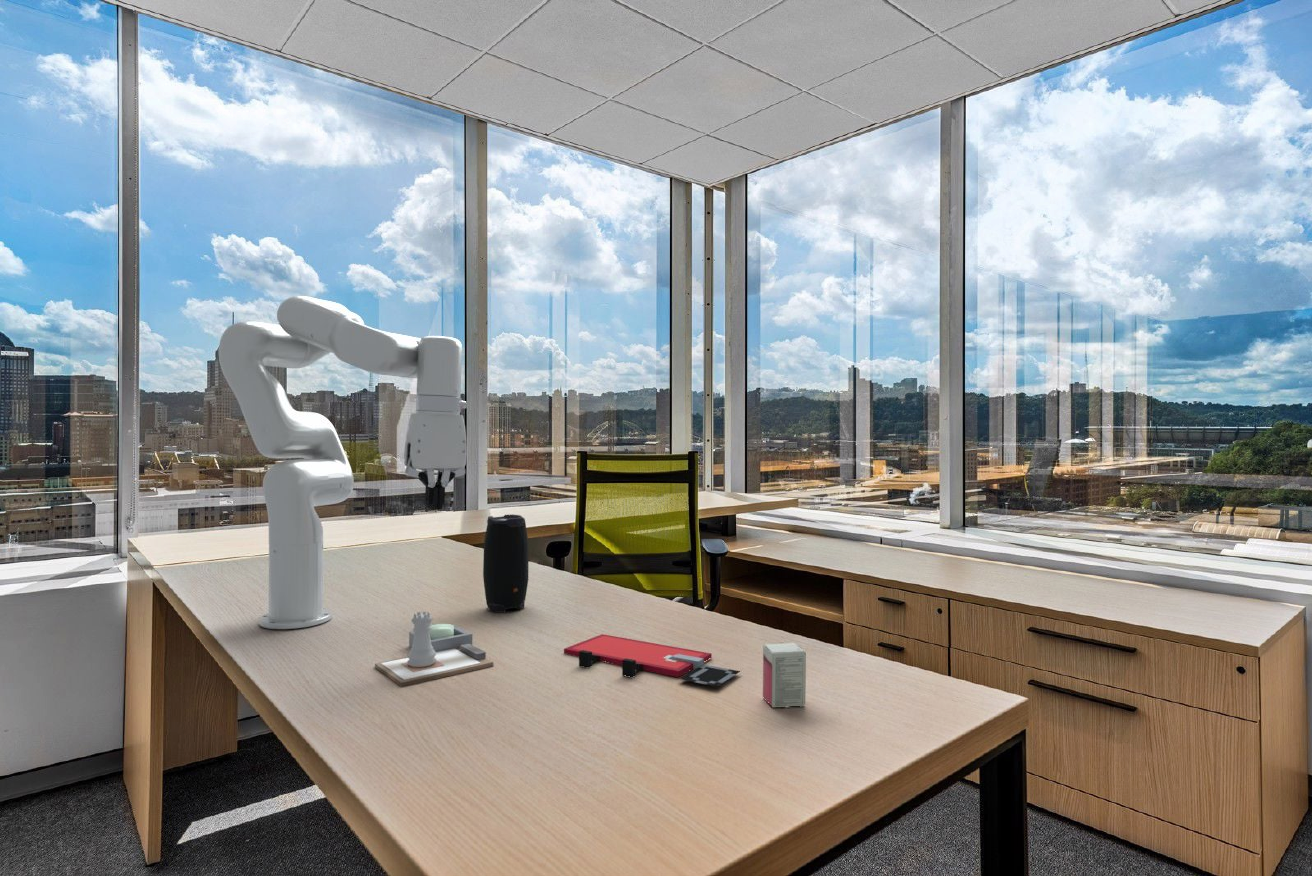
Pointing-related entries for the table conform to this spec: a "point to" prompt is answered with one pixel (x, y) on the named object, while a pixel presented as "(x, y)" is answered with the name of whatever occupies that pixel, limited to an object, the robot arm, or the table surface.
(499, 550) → the portable speaker
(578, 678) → the table surface
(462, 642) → the button housing
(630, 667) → the red board with handle
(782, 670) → the small box
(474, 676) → the table surface
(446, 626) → the button
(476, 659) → the clipboard
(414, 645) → the rook chess piece
